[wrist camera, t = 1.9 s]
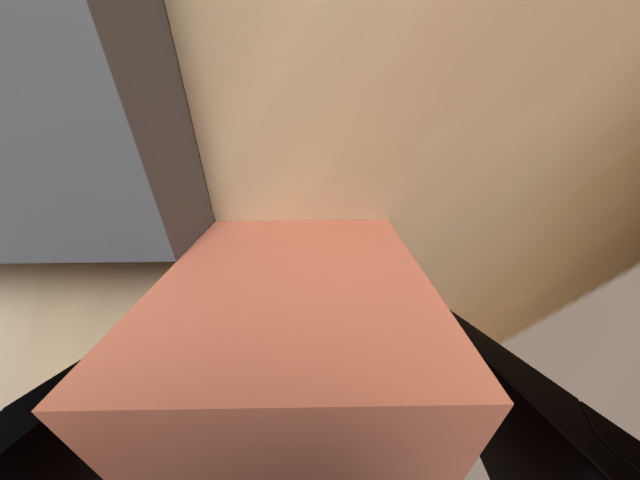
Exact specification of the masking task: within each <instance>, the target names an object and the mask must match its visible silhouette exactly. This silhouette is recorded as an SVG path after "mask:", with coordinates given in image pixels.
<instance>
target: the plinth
mask: <svg viewBox="0 0 640 480" xmlns="http://www.w3.org/2000/svg"><path fill="white" fill-rule="evenodd" d="M214 222H215V221H214V217H213V212H212V208H211V204H210V199H209V195H208V191H207V187H206V182H205V178H204V174H203V169H202V165H201V161H200V156H199V152H198V148H197V143H196V139H195V135H194V131H193V126H192V122H191V118H190V113H189V109H188V105H187V100H186V96H185V92H184V87H183V83H182V79H181V75H180V70H179V66H178V62H177V57H176V53H175V49H174V44H173V40H172V36H171V32H170V27H169V23H168V19H167V14H166V10H165V6H164V1H163V0H0V264H6V263H101V262H176V261H177V260H178V259H179V258H180V257H181V256H182V255H183V254H184V253H185V252H186V251H187V250H188V249H189V248H190V247H191V246H192V245H193V244H194V243H195V242H196V241H197V240H198V239H199V238H200V237H201V236H202V235H203V234H204V233H205V232H206V231H207V229H208V228H209V227H210V226H211V225H212V224H213V223H214Z"/></svg>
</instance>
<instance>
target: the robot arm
mask: <svg viewBox="0 0 640 480" xmlns="http://www.w3.org/2000/svg"><path fill="white" fill-rule="evenodd" d="M450 311H451V310H450ZM451 313H452V314H453V316H454V317H455V319H456V320H457V322H458V323H459V324H460V326H461V327H462V329H463V330H464V332H465V333H466V335H467V336H468V338H469V339H470V341H471V342H472V343H473V345H474V346H475V348H476V349H477V351H478V352H479V354H480V355H481V357H482V358H483V360H484V361H485V362H486V364H487V365H488V367H489V368H490V370H491V371H492V373H493V374H494V376H495V377H496V379H497V380H498V381H499V383H500V384H501V386H502V387H503V389H504V390H505V392H506V393H507V395H508V396H509V398H510V399H511V400H512V402H513V403H514V405H513V407H512V408H511V410H510V411H509V413H508V414H507V416H506V417H505V419H504V420H503V422H502V423H501V425H500V426H499V427H498V429H497V430H496V432H495V433H494V435H493V436H492V438H491V439H490V441H489V442H488V444H487V445H486V447H485V448H484V450H483V451H482V453H481V454H480V458H481V460H482V462H483V464H484V467H485V469H486V471H487V474H488V476H489V478H490V480H640V441H639V440H637V439H636V438H634V437H633V436H631V435H630V434H629V433H627V432H626V431H624V430H623V429H621V428H620V427H618V426H617V425H615V424H614V423H612V422H611V421H609V420H608V419H606V418H605V417H604V416H602V415H601V414H599V413H598V412H596V411H595V410H593V409H592V408H591V407H589V406H588V405H586V404H585V403H583V402H581V401H579V400H578V399H577V398H576V397H575V396H573V395H572V394H570V393H569V392H567V391H566V390H564V389H563V388H562V387H560V386H559V385H557V384H556V383H554V382H553V381H552V380H550V379H549V378H547V377H546V376H544V375H543V374H541V373H540V372H539V371H537V370H536V369H534V368H533V367H531V366H530V365H529V364H527V363H526V362H524V361H523V360H521V359H520V358H518V357H517V356H516V355H514V354H513V353H511V352H510V351H508V350H507V349H505V348H504V347H503V346H501V345H500V344H498V343H497V342H495V341H494V340H493V339H491V338H490V337H488V336H487V335H485V334H484V333H482V332H481V331H480V330H478V329H477V328H475V327H474V326H472V325H471V324H469V323H468V322H467V321H465V320H464V319H462V318H461V317H459V316H458V315H457V314H455V313H454V312H452V311H451ZM81 360H82V359H81ZM81 360H79V361H78V362H76V363H75V364H73V365H71V366H70V367H68V368H67V369H65V370H63V371H62V372H60V373H59V374H57V375H55V376H54V377H52V378H51V379H49V380H47V381H46V382H44V383H43V384H41V385H39V386H38V387H36V388H35V389H33V390H31V391H30V392H28V393H27V394H25V395H23V396H22V397H20V398H19V399H17V400H15V401H14V402H12V403H11V404H9V405H7V406H6V407H4V408H3V409H2V411H0V480H103V479H102V478H101V477H100V476H99V475H98V474H97V473H96V472H95V471H94V470H93V469H91V468H90V467H89V466H88V465H87V464H86V463H85V462H84V461H83V460H82V459H81V458H80V457H79V456H78V455H77V454H75V453H74V452H73V451H72V450H71V449H70V448H69V447H68V446H67V445H66V444H65V443H64V442H63V441H62V440H61V439H60V438H58V437H57V436H56V435H55V434H54V433H53V432H52V431H51V430H50V429H49V428H48V427H47V426H46V425H45V424H44V423H42V422H41V421H40V420H39V419H38V418H37V417H36V416H35V415H34V414H33V413H32V412H31V411H32V410H33V409H34V408H35V407H36V406H37V405H38V404H39V403H40V402H41V401H42V400H43V399H44V398H45V397H46V396H47V395H48V394H49V393H50V392H51V390H52V389H53V388H54V387H55V386H56V385H57V384H58V383H59V382H60V381H61V380H62V379H63V378H64V377H65V376H66V375H67V374H68V373H69V372H70V371H71V370H72V369H73V368H74V367H75V366H76V365H77V364H78V363H79V362H80V361H81Z"/></svg>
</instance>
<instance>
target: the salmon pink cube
mask: <svg viewBox="0 0 640 480" xmlns="http://www.w3.org/2000/svg"><path fill="white" fill-rule="evenodd" d="M513 405H514V403H513V402H512V400H511V399H510V398H509V396H508V395H507V393H506V392H505V390H504V389H503V387H502V386H501V384H500V383H499V381H498V380H497V379H496V377H495V376H494V374H493V373H492V371H491V370H490V368H489V367H488V365H487V364H486V362H485V361H484V360H483V358H482V357H481V355H480V354H479V352H478V351H477V349H476V348H475V346H474V345H473V343H472V342H471V341H470V339H469V338H468V336H467V335H466V333H465V332H464V330H463V329H462V327H461V326H460V324H459V323H458V322H457V320H456V319H455V317H454V316H453V314H452V313H451V311H450V310H449V308H448V307H447V305H446V304H445V303H444V301H443V300H442V298H441V297H440V295H439V294H438V292H437V291H436V289H435V288H434V286H433V285H432V284H431V282H430V281H429V279H428V278H427V276H426V275H425V273H424V272H423V270H422V269H421V267H420V266H419V265H418V263H417V262H416V260H415V259H414V257H413V256H412V254H411V253H410V251H409V250H408V248H407V247H406V246H405V244H404V243H403V241H402V240H401V238H400V237H399V235H398V234H397V232H396V231H395V229H394V228H393V227H392V225H391V224H390V222H389V221H388V220H331V221H236V222H214V223H213V224H212V226H211V227H210V228H209V229H208V230H207V231H206V232H205V233H204V234H203V235H202V236H201V237H200V238H199V239H198V240H197V241H196V242H195V243H194V244H193V245H192V246H191V247H190V248H189V249H188V250H187V251H186V252H185V253H184V254H183V255H182V256H181V257H180V259H179V260H178V261H177V262H176V263H175V264H174V265H173V266H172V267H171V268H170V269H169V270H168V271H167V272H166V273H165V274H164V275H163V276H162V277H161V278H160V279H159V280H158V281H157V282H156V283H155V284H154V285H153V286H152V287H151V288H150V289H149V290H148V292H147V293H146V294H145V295H144V296H143V297H142V298H141V299H140V300H139V301H138V302H137V303H136V304H135V305H134V306H133V307H132V308H131V309H130V310H129V311H128V312H127V313H126V314H125V315H124V316H123V317H122V318H121V319H120V320H119V321H118V322H117V323H116V324H115V326H114V327H113V328H112V329H111V330H110V331H109V332H108V333H107V334H106V335H105V336H104V337H103V338H102V339H101V340H100V341H99V342H98V343H97V344H96V345H95V346H94V347H93V348H92V349H91V350H90V351H89V352H88V353H87V354H86V355H85V356H84V357H83V359H82V360H81V361H80V362H79V363H78V364H77V365H76V366H75V367H74V368H73V369H72V370H71V371H70V372H69V373H68V374H67V375H66V376H65V377H64V378H63V379H62V380H61V381H60V382H59V383H58V384H57V385H56V386H55V387H54V388H53V389H52V390H51V392H50V393H49V394H48V395H47V396H46V397H45V398H44V399H43V400H42V401H41V402H40V403H39V404H38V405H37V406H36V407H35V408H34V409H33V410H32V411H31V412H32V413H33V414H34V415H35V416H36V417H37V418H38V419H39V420H40V421H41V422H42V423H44V424H45V425H46V426H47V427H48V428H49V429H50V430H51V431H52V432H53V433H54V434H55V435H56V436H57V437H58V438H60V439H61V440H62V441H63V442H64V443H65V444H66V445H67V446H68V447H69V448H70V449H71V450H72V451H73V452H74V453H75V454H77V455H78V456H79V457H80V458H81V459H82V460H83V461H84V462H85V463H86V464H87V465H88V466H89V467H90V468H91V469H93V470H94V471H95V472H96V473H97V474H98V475H99V476H100V477H101V478H102V479H103V480H463V479H464V478H465V476H466V475H467V473H468V472H469V470H470V469H471V467H472V466H473V464H474V463H475V461H476V460H477V458H478V457H479V456H480V454H481V453H482V451H483V450H484V448H485V447H486V445H487V444H488V442H489V441H490V439H491V438H492V436H493V435H494V433H495V432H496V430H497V429H498V427H499V426H500V425H501V423H502V422H503V420H504V419H505V417H506V416H507V414H508V413H509V411H510V410H511V408H512V407H513Z"/></svg>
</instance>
